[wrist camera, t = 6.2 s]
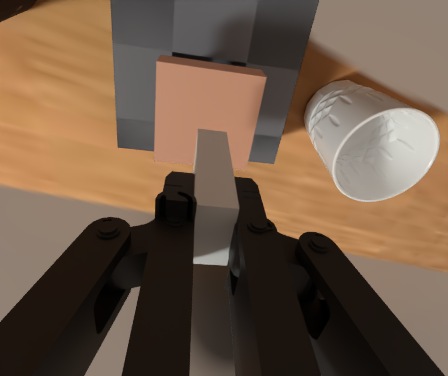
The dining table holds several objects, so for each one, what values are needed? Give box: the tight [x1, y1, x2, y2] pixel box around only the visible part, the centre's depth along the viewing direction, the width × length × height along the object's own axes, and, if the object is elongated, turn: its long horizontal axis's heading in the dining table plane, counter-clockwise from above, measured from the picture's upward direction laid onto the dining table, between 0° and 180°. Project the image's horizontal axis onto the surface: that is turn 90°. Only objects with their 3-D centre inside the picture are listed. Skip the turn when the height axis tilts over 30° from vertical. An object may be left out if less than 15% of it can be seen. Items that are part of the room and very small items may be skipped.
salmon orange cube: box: [154, 55, 267, 170], centre depth 21 cm, size 6×6×6 cm
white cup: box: [304, 80, 440, 202], centre depth 26 cm, size 8×8×10 cm
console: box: [111, 0, 319, 164], centre depth 23 cm, size 22×14×5 cm, turn 171°
